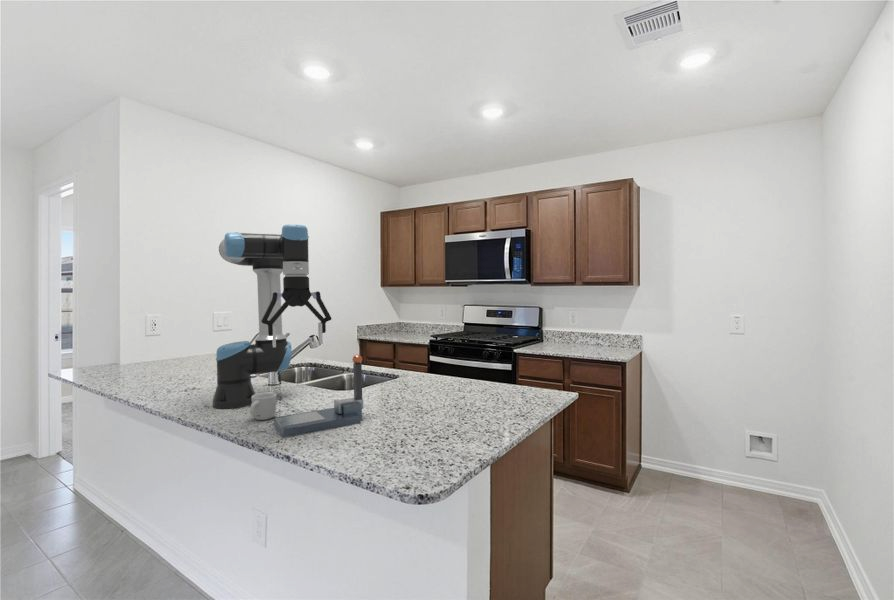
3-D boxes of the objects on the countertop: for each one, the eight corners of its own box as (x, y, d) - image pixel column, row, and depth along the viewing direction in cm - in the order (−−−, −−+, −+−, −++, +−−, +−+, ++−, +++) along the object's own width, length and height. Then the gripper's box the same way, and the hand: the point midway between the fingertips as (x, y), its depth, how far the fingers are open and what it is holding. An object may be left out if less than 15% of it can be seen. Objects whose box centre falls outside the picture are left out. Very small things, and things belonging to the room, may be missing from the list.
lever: (334, 410, 148) (332, 356, 147) (360, 406, 153) (359, 353, 152) (339, 414, 144) (337, 358, 143) (365, 409, 149) (364, 355, 148)
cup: (263, 425, 142) (262, 400, 142) (241, 423, 144) (240, 399, 144) (282, 415, 153) (281, 392, 153) (261, 414, 155) (260, 391, 154)
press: (274, 425, 142) (273, 408, 142) (349, 412, 156) (349, 396, 155) (283, 437, 130) (283, 419, 130) (365, 422, 144) (364, 405, 144)
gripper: (251, 276, 126) (254, 349, 127) (339, 275, 137) (341, 343, 137) (251, 276, 132) (253, 346, 133) (334, 276, 143) (336, 341, 144)
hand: (297, 345), depth 135 cm, fingers open, 13 cm apart
